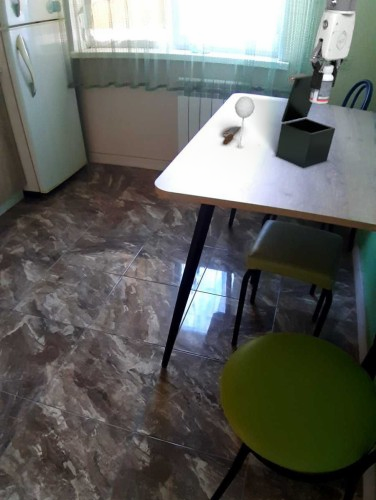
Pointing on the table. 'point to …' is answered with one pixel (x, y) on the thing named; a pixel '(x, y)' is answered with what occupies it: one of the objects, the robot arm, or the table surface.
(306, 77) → the bin lid
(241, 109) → the lollipop
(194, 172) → the table surface
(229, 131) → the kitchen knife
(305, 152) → the bin
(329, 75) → the pill bottle
